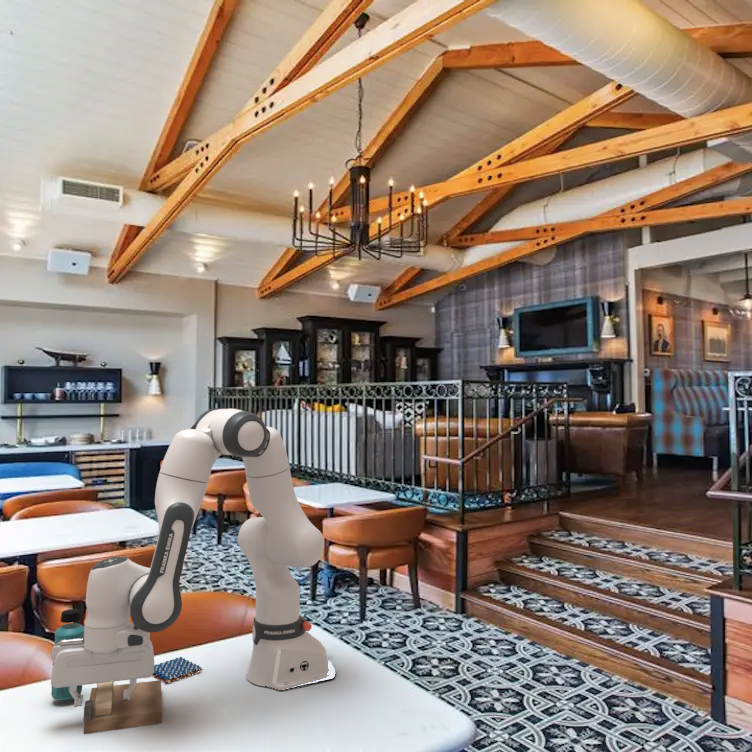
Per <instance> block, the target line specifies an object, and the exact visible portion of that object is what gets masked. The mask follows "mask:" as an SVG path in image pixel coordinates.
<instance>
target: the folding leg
mask: <svg viewBox="0 0 752 752" xmlns="http://www.w3.org/2000/svg"><path fill="white" fill-rule="evenodd" d="M114 683H115V681H114V682H105V683H96V684H97V685H96V688H97V697H96V712H95V716H100V715H107V714H111V706H112V691H113V686H114Z"/></svg>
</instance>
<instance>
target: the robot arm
mask: <svg viewBox="0 0 752 752" xmlns="http://www.w3.org/2000/svg"><path fill="white" fill-rule="evenodd" d="M280 433H281V432H280V431H278V429H276V428H274V427H272V426H267V425H266V424H265V422H264V421H263V420H262V419H261V418H260V417H259V416H258V415H257V414H255V413H252V412H251V411H247V410H242V409H238V408H222V407H221V408H220V407H215V408H211V409H208V410H205V411H204V412H202V414H201V415H199V417H198V418H197V420H196V421H195V422H194V424H193V425H192V426H191V427H190V428H188V429H181V430H180V431H178V432H177V433H176V434H175V435H174V436H173V438H172V440H171V442H170V444H169V445H168V448H167V451H166V452H165V455H164V457H163V460H162V463H161V466H160V470H159V473H158V476H157V481H156V485H155V486H156V487H155V494H154V506H155V511H156V516H157V523H158V534H157V541H156V546H155V549H154V553H153V556H152V561H151V564H150V567H147V566H143V565H141V564H138V563H136V562H135V561H132V560H131V559H130V558H128V557H126V556H112V557H108V558H105V559H103V560H101V561H99V562H97V563H95V564H94V565H93V567H92V568H91V569H90V571H89V574H88V577H87V578H88V579H87V583H86V594H85V606H86V617H85V620H84V626H83V627H84V638H76V639H70V640H67V639H64V640H60V642H58V643H56V644H55V643H54V644H53V646H52V648H51V652H50V653H51V654H50V655H51V656H50V657H51V661H52V663H53V662H54V666H53V665H52V671H51V678H50V686H51V687H52V686H53V687H54V688H61V687H69V692H70V694H71V695H72V697H73V698H72V699H73V700H74V702H73V707H74V708H77V707H82V706H83V701H84V700H83V699H84V694H80V695H79V694H78V692H77V691H76V690H77V686H79V685H82V686H87V685H95V684H97V683H105V682H114V683H115V682H120V681H129V684H130V686H129V687H128V689H125V690H124V692H123V701H127V700H130V695H131V692H132V690H133V688H134V687H135V685H136V683H138V682H137V680H140V679H146V678H147V679H148V678H151V677H153V676H152V675H153V673H154V665H155V653H154V647H153V646H154V645H153V643H152V641H151V639H150V638H151V634H150V633H159V632H162V631H164V630H166V629H168V628H170V627H171V626H172V625H174V624H175V622H176V621H177V620H178V619H179V617H180V614H181V612H182V607H183V601H182V600H183V599H182V594H181V587H180V580H181V575H182V571H183V566H184V563H185V557H186V553H187V551H188V550H187V548H188V545H189V541H190V536H191V533H192V530H193V527H194V524H195V521H196V519H197V516H198V514H199V510H200V509H201V506H202V503H203V500H204V497H205V495H206V493H207V488H208V485H209V482H210V478H211V472H212V469H213V466H214V465H215V463H216V461H217V460H218V459H219V457H220V456H222V455H225V456H235V457H238V458H242V462H243V466H244V472H245V479H246V483H247V489H248V493H249V494H248V495H249V500H250V503H251V505H252V507H253V508H254V509H255V510H256V511H257V512H258V513H259V514H260V515H261V516H259V517H251V518H248V519H247V520H246V521H244V522H243V524H242V525H241V527H239V528H240V529H239V531H238V533H237V535H238V536H237V544H238V546H239V547H238V548H239V549H240V550H241V552H242V553H243V554H244V555H245V557H246V559H247V561H248V564H249V566H250V569H251V572H252V576H253V580H254V585H255V617H254V618H253V622H252V623H253V625H252V643H253V645H252V652H251V658H250V663H249V667H248V670H247V673H246V679H247V680H248V682H250V683H252V684H254V685H256V686H259V687H265V686H267V687H266V688H271V687H272V688H271V689H273V688H275V689H274V690H276V689H278V690H277V691H279V690H283V689H287V688H292V687H294V686H298V685H301V684H305V683H308V682H313V681H316V680H320V679H323V678H326V677H327V676H329V675H327V673H328V671H329V669H328V660H329V659H328V654H327V651H326V648H325V646H324V644H322V642H321V641H320V640H319V639H317V638H316V637H315V636H313V635H312V634H311V633H309V631H311V629H312V624H311V623H310V621H308V620H307V619H306V618H305V617H303V616H302V615H300V604H301V603H300V601H301V600H300V599H301V598H300V597H301V589H300V585H299V582H297V580H296V578H294V576H293V575H292V573H291V572H290V569H289V567H291V568H306V567H312V566H314V565H316V564H317V563H318V562H319V561H320V559H321V557H322V555H323V553H324V549H325V541H324V540H325V539H324V536H323V533H322V532H321V530H319V529H318V527H316V526H315V525H314V524H313V523H312V522H311V520H309V518H308V516H307V515H306V513H305V512H304V510H303V508H302V506H301V505H300V502H299V501H298V498H297V495H296V492H295V489H294V484H293V478H292V473H291V468H290V462H289V458H288V454H287V449H286V447H285V443H284V441H283V439H282V435H281V434H280ZM130 619H131V622H130ZM83 643H84V644H83ZM58 644H60V645H58ZM327 659H328V660H327Z"/></svg>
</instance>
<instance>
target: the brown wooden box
mask: <svg viewBox="0 0 752 752" xmlns="http://www.w3.org/2000/svg"><path fill="white" fill-rule="evenodd" d="M129 686H130V683H124V684H116V685H113V691H112V706H111V714H107V715H100V716H95V712H96V697H97V687H91V689H90V694H89V698H88V700H85V702H84V706H83V709H84V710H83V722H84V723H83V724H84V726H83V727H84V728H83V735H87V734H94V733H101V732H107V731H108V732H109V731H115V730H121V729H129V728H137V727H144V726H152V725H159V724H163V700H162V699H163V698H162V697H163V695H162V681H161V680H159V679H158V680H152V681H150V680H149V681H143V682H140V681H139V682H136V685H135V687H134V688H133V690H132V692H131V695H130V700H127V701H123V692H124V690H125V689H128V687H129Z"/></svg>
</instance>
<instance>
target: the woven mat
mask: <svg viewBox="0 0 752 752" xmlns="http://www.w3.org/2000/svg"><path fill="white" fill-rule="evenodd" d="M198 671H201V672H202V671H203V668H202V667H201V666H200V665H197V664H196V663H193V662H192V661H189V660H187V659H186V658H183V657H182V656H180V657H175V658H173V659H170V660H166V661H165V662H160V663H158V664H154V673H153V675H152V676H151V677H154V678H155V679H158V680H161V682H163V683H164V684H165V685H169V684H172V683H175V682H179V681H180V679H181V680H183V679H185V678H186V679H187V678H190V677H192V674H194V673H196V674H195V675H198V674H199V672H198Z"/></svg>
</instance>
